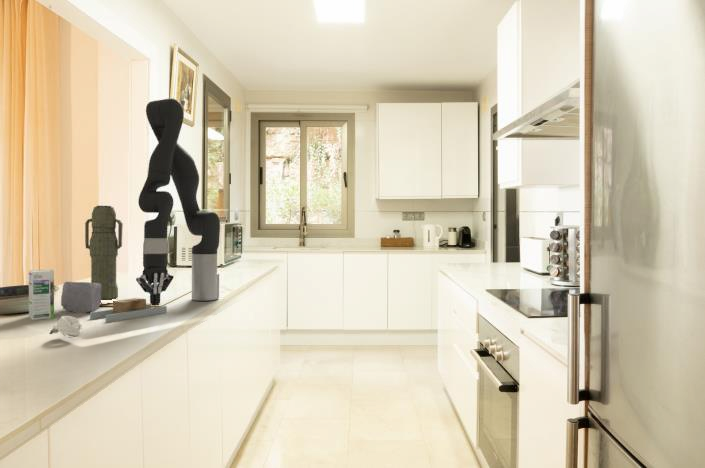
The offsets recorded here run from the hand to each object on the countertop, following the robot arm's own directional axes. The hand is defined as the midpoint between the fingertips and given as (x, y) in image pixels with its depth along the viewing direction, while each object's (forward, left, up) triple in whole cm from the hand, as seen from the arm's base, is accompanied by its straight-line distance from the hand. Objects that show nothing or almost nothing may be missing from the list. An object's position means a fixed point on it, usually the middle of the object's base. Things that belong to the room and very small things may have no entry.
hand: (155, 305), depth 159 cm
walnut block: (+9, 0, -2) cm, 9 cm away
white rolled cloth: (+34, +11, -3) cm, 36 cm away
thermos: (+1, -27, -2) cm, 27 cm away
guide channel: (+9, 0, -2) cm, 9 cm away
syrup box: (+26, -18, -2) cm, 32 cm away
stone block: (+14, -18, -2) cm, 23 cm away
